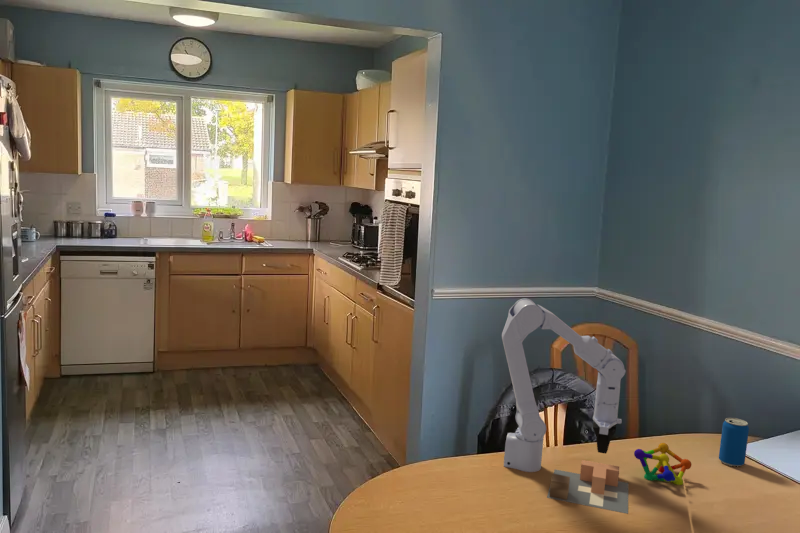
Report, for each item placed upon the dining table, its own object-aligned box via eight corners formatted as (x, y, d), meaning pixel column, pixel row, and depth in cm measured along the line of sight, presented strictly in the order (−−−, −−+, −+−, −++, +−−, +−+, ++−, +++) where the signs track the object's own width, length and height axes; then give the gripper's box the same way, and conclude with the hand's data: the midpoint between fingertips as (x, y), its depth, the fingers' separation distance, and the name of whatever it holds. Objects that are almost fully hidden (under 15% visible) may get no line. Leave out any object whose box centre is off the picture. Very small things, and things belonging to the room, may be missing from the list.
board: (546, 501, 158) (546, 497, 158) (554, 473, 174) (554, 469, 174) (627, 517, 153) (628, 513, 152) (628, 486, 169) (628, 483, 168)
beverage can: (720, 456, 192) (725, 415, 190) (746, 462, 188) (751, 421, 187) (716, 463, 187) (721, 421, 185) (741, 470, 183) (747, 427, 181)
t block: (580, 474, 172) (582, 459, 171) (617, 481, 169) (619, 466, 168) (577, 489, 163) (579, 473, 163) (617, 497, 160) (618, 481, 160)
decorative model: (705, 469, 172) (672, 466, 163) (688, 498, 174) (655, 496, 165) (664, 439, 182) (632, 434, 173) (649, 467, 184) (616, 463, 175)
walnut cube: (549, 496, 159) (550, 480, 158) (551, 489, 162) (552, 473, 162) (566, 500, 157) (568, 483, 157) (568, 492, 161) (569, 476, 161)
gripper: (623, 412, 165) (617, 465, 167) (623, 395, 179) (618, 444, 180) (593, 407, 167) (588, 460, 169) (595, 391, 181) (591, 440, 183)
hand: (602, 452), depth 175 cm, fingers closed
